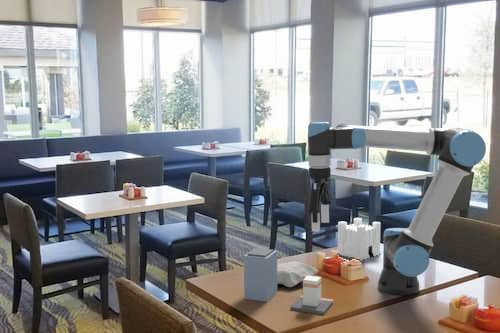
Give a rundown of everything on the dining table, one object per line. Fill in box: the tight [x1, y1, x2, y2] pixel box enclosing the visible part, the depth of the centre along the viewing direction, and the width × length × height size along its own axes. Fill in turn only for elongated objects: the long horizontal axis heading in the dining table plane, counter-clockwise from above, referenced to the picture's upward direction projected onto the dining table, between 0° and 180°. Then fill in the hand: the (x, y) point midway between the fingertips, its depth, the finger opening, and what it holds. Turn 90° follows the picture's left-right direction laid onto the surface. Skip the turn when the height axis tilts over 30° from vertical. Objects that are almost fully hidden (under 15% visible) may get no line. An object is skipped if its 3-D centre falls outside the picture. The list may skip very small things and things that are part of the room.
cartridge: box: [302, 275, 323, 307], centre depth 201 cm, size 5×5×9 cm
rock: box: [277, 261, 319, 288], centre depth 227 cm, size 19×7×25 cm
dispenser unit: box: [243, 247, 278, 303], centre depth 212 cm, size 10×10×17 cm
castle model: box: [337, 217, 382, 261], centre depth 263 cm, size 14×14×15 cm
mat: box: [289, 294, 335, 315], centre depth 202 cm, size 12×12×1 cm
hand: (320, 226), depth 203 cm, fingers open, 13 cm apart
